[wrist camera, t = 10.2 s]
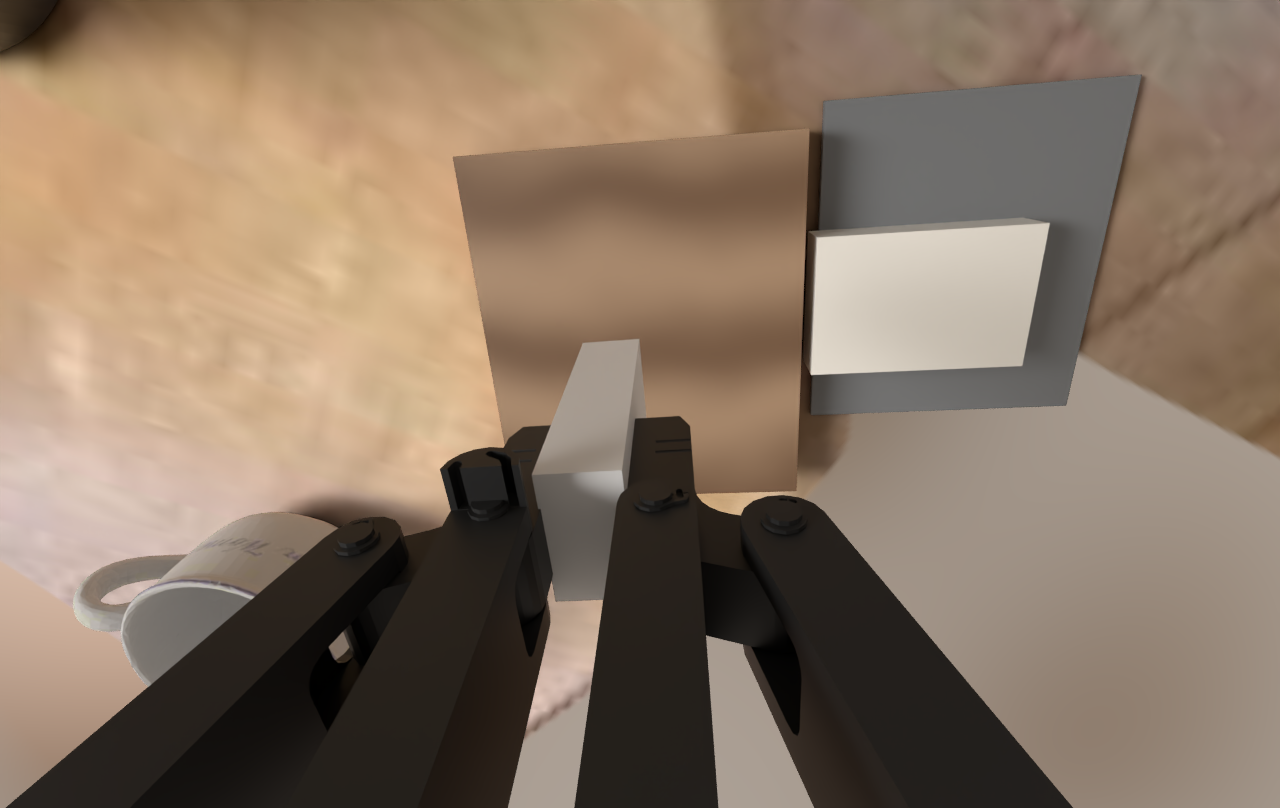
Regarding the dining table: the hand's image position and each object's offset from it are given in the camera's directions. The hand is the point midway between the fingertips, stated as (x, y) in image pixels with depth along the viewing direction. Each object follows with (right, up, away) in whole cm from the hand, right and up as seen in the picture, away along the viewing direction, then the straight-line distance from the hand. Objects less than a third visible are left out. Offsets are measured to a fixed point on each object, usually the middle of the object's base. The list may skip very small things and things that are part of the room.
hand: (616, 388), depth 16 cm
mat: (+15, +6, +11) cm, 19 cm away
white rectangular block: (+13, +5, +11) cm, 17 cm away
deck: (+1, +3, +13) cm, 13 cm away
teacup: (-20, -9, +20) cm, 30 cm away
